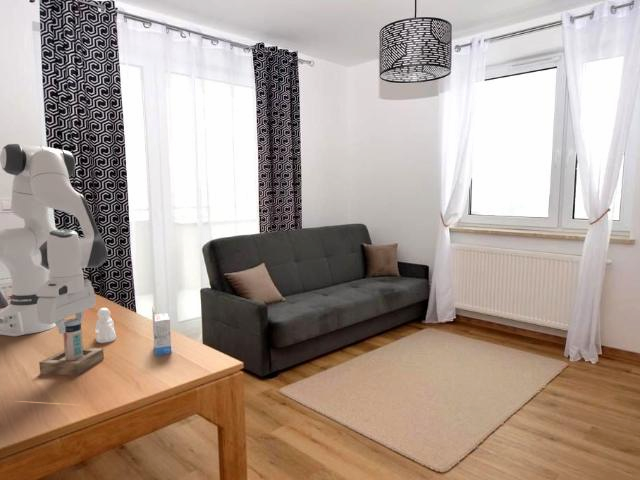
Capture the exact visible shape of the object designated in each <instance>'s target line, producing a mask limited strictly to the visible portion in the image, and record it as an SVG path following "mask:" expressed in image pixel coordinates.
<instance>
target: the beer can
mask: <svg viewBox="0 0 640 480" xmlns="http://www.w3.org/2000/svg"><path fill="white" fill-rule="evenodd" d="M63 323H64V325H65V326H67V327H68V329H67V330H68V332H66V333H64V334H63V336H62V338H63V345H64V349H65V359H66V360H67V361H76V360H78V359H80V358H82V357H83V348H84V346H83V336H82V335H83V334H82V325H81V322H80V321H79V319H75V318H70V319H66V320H65V322H63ZM64 349H63V350H64Z"/></svg>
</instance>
